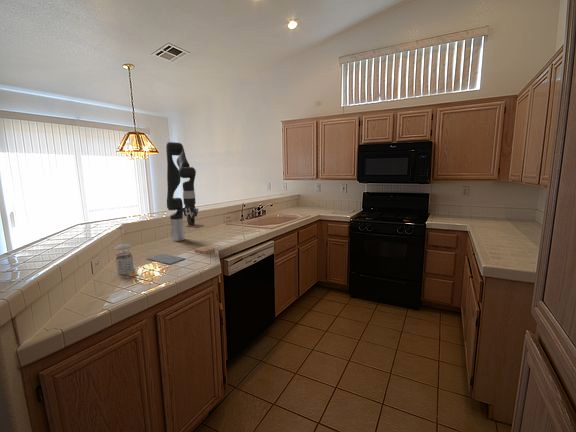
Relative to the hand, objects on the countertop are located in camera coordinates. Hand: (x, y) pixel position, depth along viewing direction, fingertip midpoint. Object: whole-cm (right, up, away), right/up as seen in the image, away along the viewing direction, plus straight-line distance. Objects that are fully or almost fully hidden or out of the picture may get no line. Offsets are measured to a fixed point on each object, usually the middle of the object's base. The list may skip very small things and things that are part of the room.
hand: (191, 222), depth 189 cm
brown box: (+3, -3, -1) cm, 4 cm away
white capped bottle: (-23, -26, -37) cm, 50 cm away
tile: (+5, -18, +1) cm, 19 cm away
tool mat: (-10, -22, -17) cm, 29 cm away
